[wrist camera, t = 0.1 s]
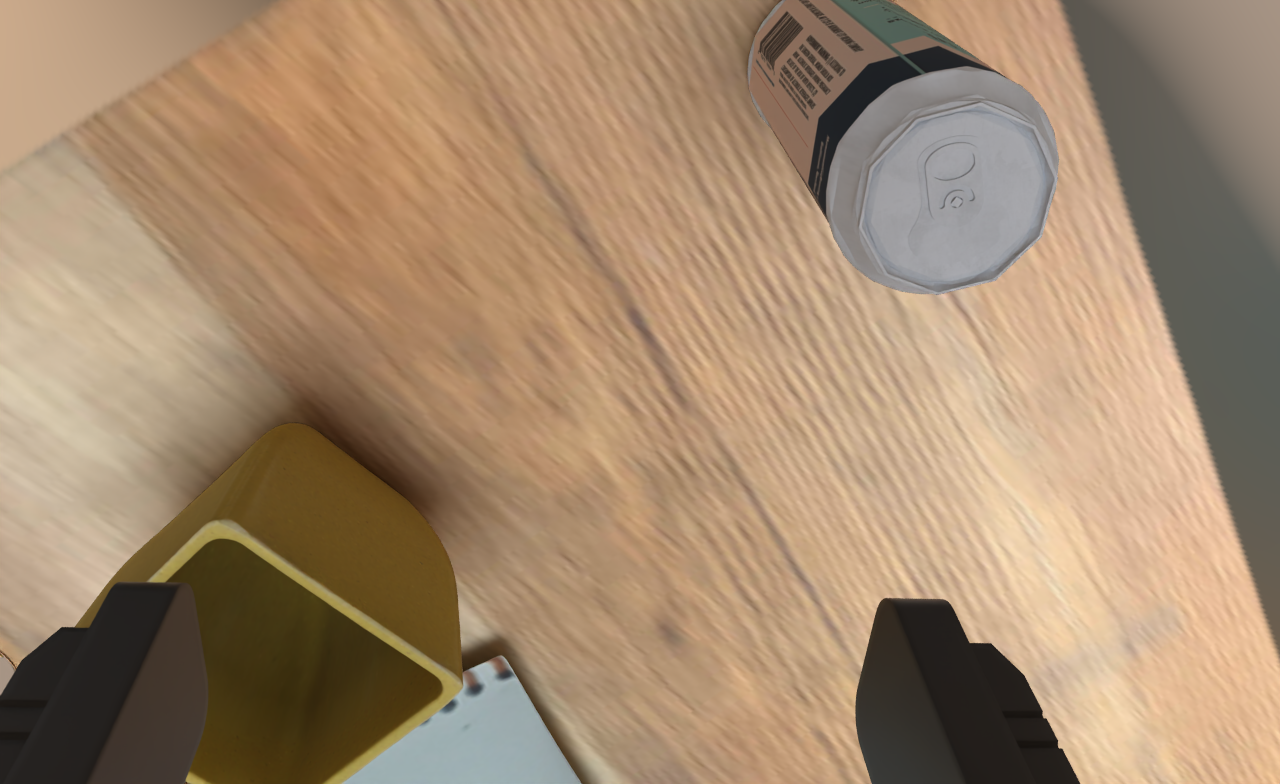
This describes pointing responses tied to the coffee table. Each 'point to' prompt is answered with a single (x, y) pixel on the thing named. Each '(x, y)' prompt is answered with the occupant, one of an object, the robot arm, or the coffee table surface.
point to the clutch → (476, 739)
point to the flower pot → (308, 612)
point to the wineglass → (5, 672)
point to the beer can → (904, 142)
